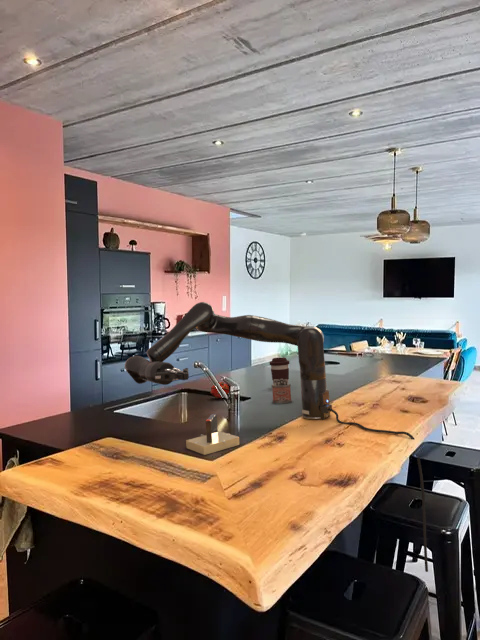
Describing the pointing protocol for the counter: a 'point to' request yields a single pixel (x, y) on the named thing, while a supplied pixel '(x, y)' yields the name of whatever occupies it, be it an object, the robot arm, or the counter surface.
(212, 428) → the dark brown block
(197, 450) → the beige square slab
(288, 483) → the counter surface
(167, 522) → the counter surface
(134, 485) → the counter surface
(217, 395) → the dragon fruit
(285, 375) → the coffee cup
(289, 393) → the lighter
